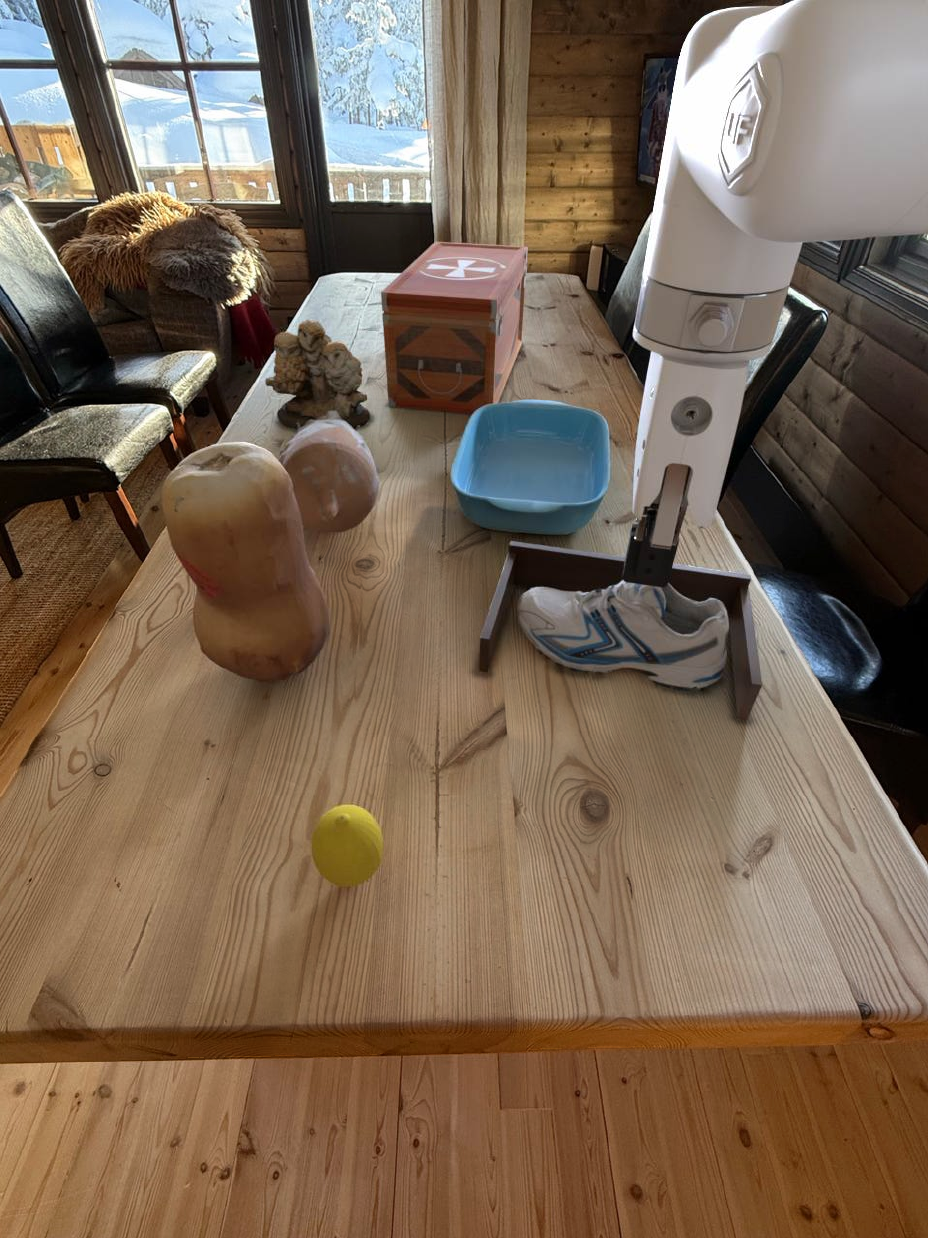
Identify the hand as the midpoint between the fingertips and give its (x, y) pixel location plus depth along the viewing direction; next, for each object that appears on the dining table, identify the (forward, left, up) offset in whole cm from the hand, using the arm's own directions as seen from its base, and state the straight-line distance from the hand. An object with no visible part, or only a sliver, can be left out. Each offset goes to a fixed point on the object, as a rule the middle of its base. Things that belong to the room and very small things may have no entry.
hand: (644, 577), depth 48 cm
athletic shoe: (+16, 0, -22) cm, 27 cm away
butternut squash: (+5, +36, -22) cm, 43 cm away
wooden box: (+94, +37, -22) cm, 103 cm away
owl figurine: (+65, +56, -22) cm, 89 cm away
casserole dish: (+50, +15, -22) cm, 57 cm away
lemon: (-16, +19, -22) cm, 33 cm away
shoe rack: (+17, 0, -22) cm, 28 cm away
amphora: (+37, +42, -22) cm, 60 cm away
